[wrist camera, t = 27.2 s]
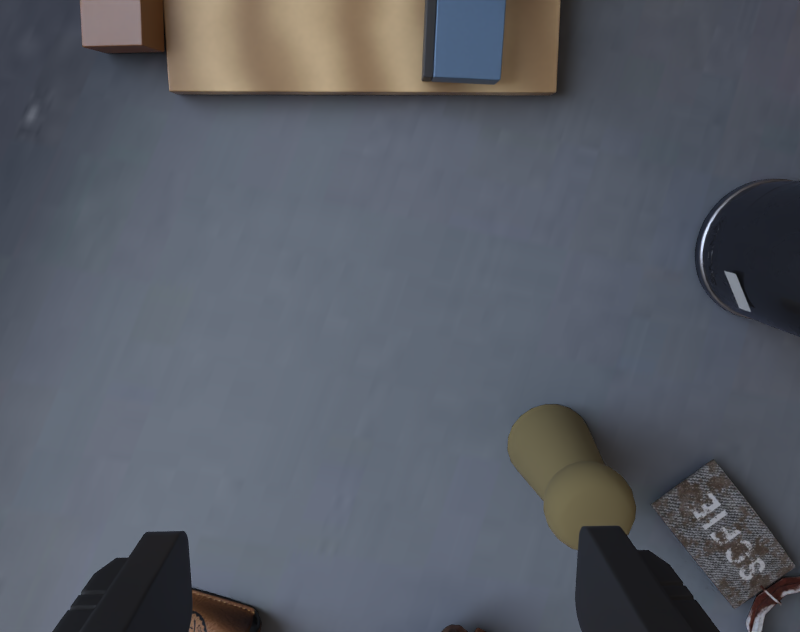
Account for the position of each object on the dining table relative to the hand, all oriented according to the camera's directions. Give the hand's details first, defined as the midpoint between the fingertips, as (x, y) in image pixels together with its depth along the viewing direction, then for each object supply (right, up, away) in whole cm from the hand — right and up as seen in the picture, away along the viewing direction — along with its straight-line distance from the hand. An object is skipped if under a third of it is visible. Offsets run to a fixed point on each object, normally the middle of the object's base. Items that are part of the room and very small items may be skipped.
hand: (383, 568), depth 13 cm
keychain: (+27, -14, +37) cm, 48 cm away
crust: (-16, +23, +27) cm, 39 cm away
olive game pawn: (+11, -4, +34) cm, 36 cm away
